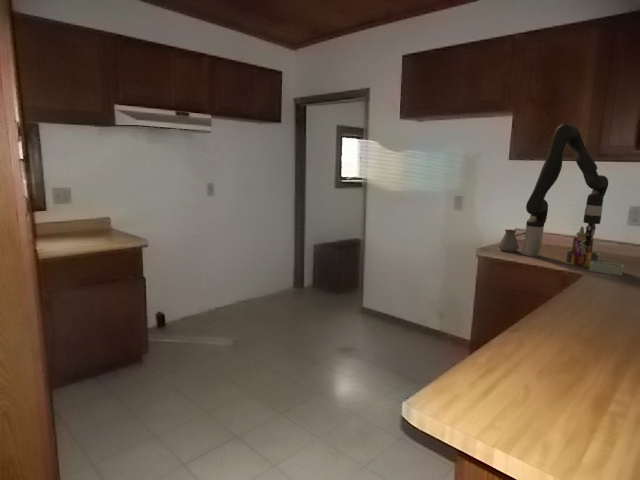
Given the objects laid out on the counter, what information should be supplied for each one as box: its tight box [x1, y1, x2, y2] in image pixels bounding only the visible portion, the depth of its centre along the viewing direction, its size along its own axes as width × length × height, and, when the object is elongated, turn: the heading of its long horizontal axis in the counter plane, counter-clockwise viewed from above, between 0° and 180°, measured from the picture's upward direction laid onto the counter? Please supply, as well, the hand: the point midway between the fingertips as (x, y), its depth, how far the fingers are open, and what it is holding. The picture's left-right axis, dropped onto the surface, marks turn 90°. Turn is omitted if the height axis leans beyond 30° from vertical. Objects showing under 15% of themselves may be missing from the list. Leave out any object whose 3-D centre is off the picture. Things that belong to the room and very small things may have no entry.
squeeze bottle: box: [570, 226, 586, 249], centre depth 248 cm, size 8×8×18 cm
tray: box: [588, 260, 625, 276], centre depth 215 cm, size 14×9×4 cm, turn 52°
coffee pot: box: [498, 229, 526, 253], centre depth 258 cm, size 21×12×15 cm, turn 61°
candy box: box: [570, 235, 595, 268], centre depth 226 cm, size 9×4×15 cm, turn 53°
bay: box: [566, 248, 601, 263], centre depth 234 cm, size 14×8×6 cm, turn 52°
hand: (588, 244), depth 224 cm, fingers open, 8 cm apart
